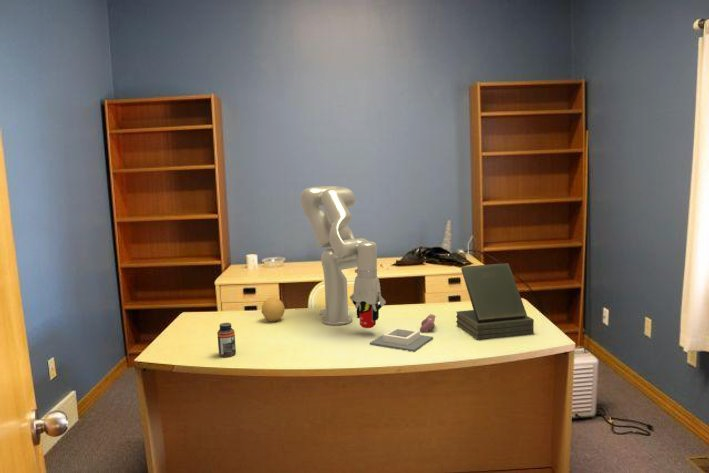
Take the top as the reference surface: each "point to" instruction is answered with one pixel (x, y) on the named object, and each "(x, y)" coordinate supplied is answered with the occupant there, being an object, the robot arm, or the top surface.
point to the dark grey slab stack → (493, 304)
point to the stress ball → (273, 309)
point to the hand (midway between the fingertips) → (367, 318)
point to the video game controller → (427, 323)
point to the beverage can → (366, 315)
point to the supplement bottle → (226, 340)
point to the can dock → (402, 339)
